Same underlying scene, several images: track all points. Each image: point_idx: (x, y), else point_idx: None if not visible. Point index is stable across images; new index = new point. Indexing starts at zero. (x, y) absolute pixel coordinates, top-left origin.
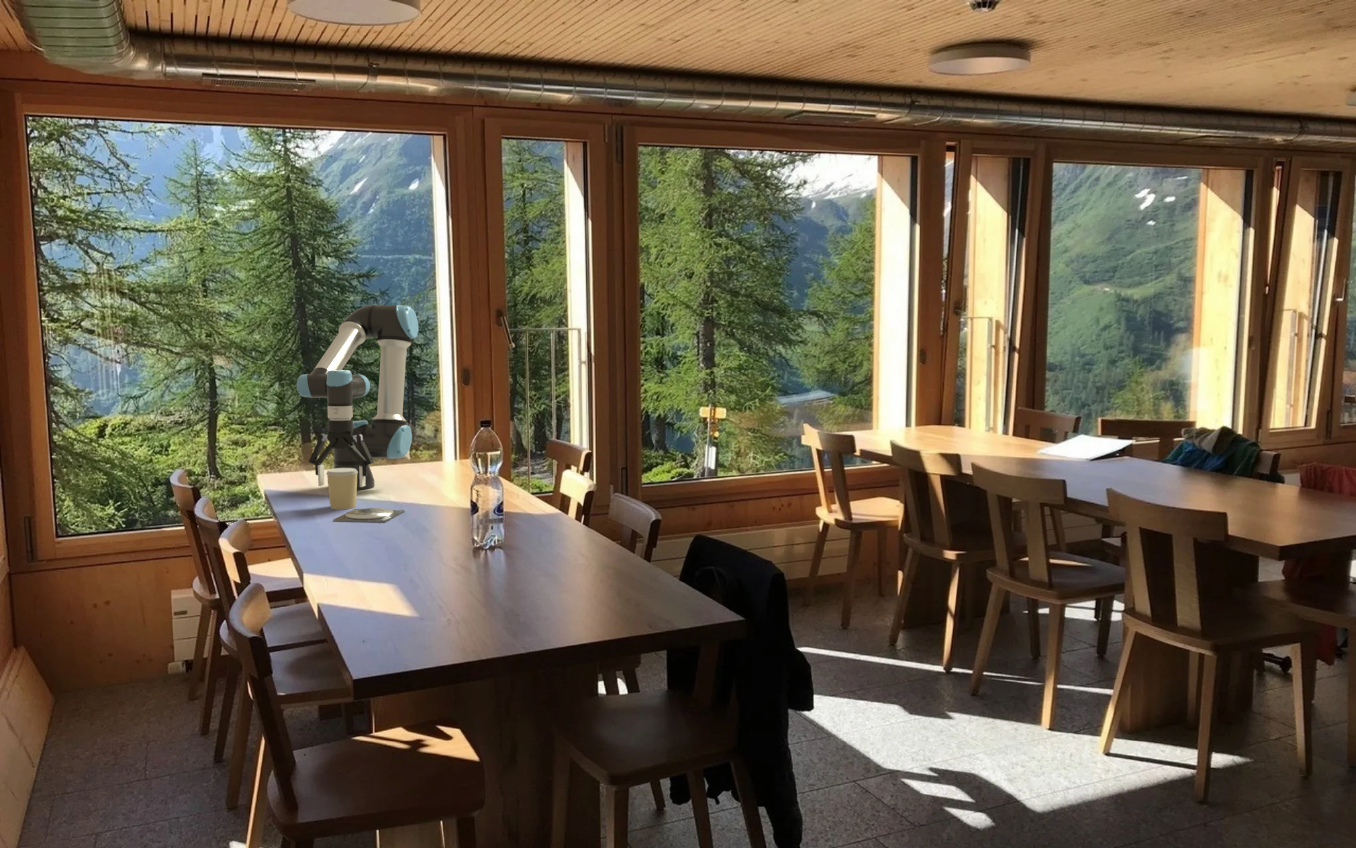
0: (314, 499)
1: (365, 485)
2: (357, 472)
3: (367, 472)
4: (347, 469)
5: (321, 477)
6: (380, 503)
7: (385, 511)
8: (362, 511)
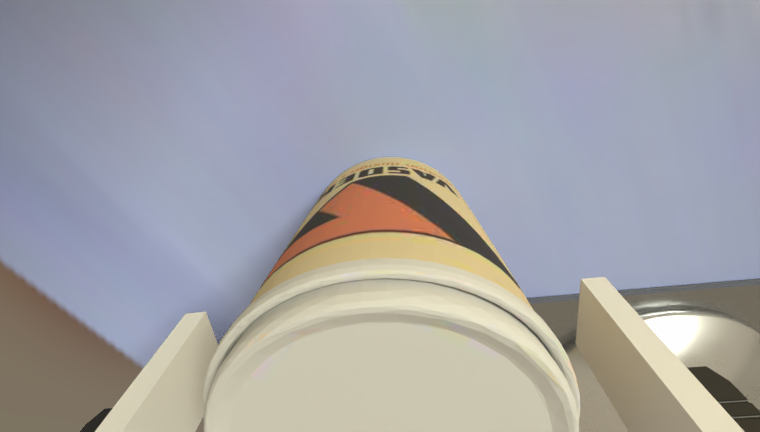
0: (5, 18)
1: (606, 279)
2: (573, 372)
3: (744, 411)
4: (417, 382)
5: (187, 414)
6: (591, 43)
7: (738, 378)
8: (606, 398)
